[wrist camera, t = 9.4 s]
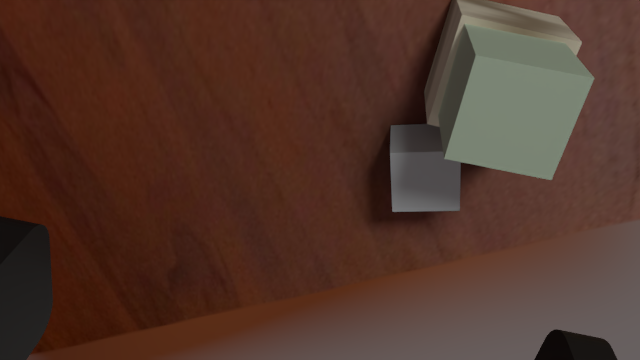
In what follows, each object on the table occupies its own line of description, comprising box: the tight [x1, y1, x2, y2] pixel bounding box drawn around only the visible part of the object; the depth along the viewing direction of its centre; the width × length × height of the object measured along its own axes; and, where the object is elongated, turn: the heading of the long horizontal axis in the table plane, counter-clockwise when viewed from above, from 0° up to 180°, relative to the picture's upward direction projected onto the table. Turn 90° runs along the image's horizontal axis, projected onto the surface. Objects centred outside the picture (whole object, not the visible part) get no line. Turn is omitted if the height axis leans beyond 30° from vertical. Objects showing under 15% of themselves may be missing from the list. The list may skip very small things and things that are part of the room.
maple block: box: [424, 0, 582, 127], centre depth 32 cm, size 6×6×5 cm
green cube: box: [438, 24, 594, 180], centre depth 28 cm, size 5×5×5 cm
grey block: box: [390, 124, 461, 212], centre depth 36 cm, size 4×4×4 cm
